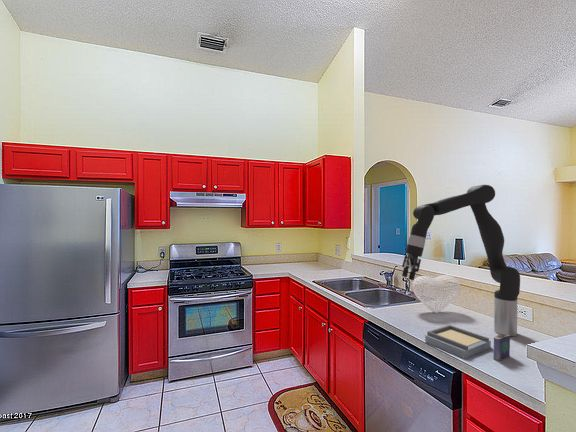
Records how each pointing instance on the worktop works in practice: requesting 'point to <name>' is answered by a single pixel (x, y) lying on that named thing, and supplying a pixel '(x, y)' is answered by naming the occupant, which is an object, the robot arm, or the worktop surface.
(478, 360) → the worktop surface
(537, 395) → the worktop surface
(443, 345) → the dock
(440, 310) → the heart
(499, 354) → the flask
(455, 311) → the worktop surface
